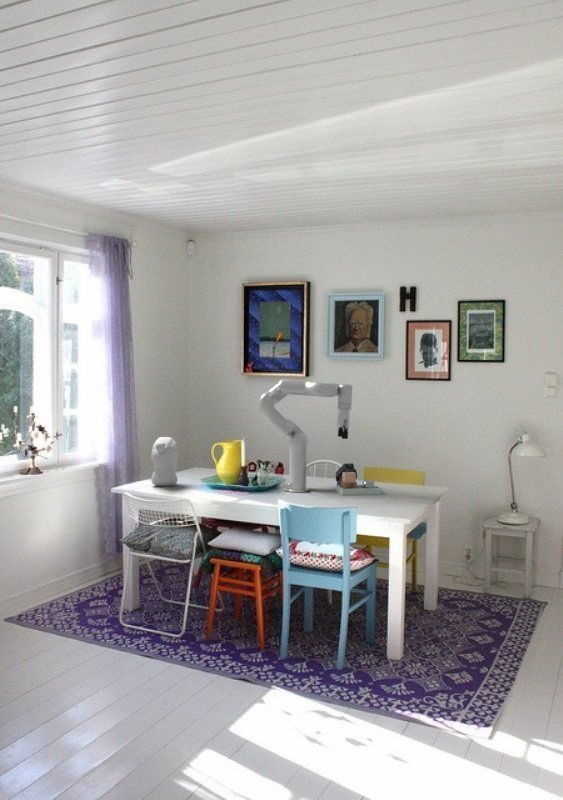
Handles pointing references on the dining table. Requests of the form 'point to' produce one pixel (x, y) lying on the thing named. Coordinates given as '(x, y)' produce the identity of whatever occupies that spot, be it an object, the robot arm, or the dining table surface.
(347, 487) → the walnut block
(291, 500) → the dining table surface
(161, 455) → the bust
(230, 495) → the dining table surface
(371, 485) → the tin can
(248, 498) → the dining table surface
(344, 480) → the terracotta box
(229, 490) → the dining table surface
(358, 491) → the pale green flat tray
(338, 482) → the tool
